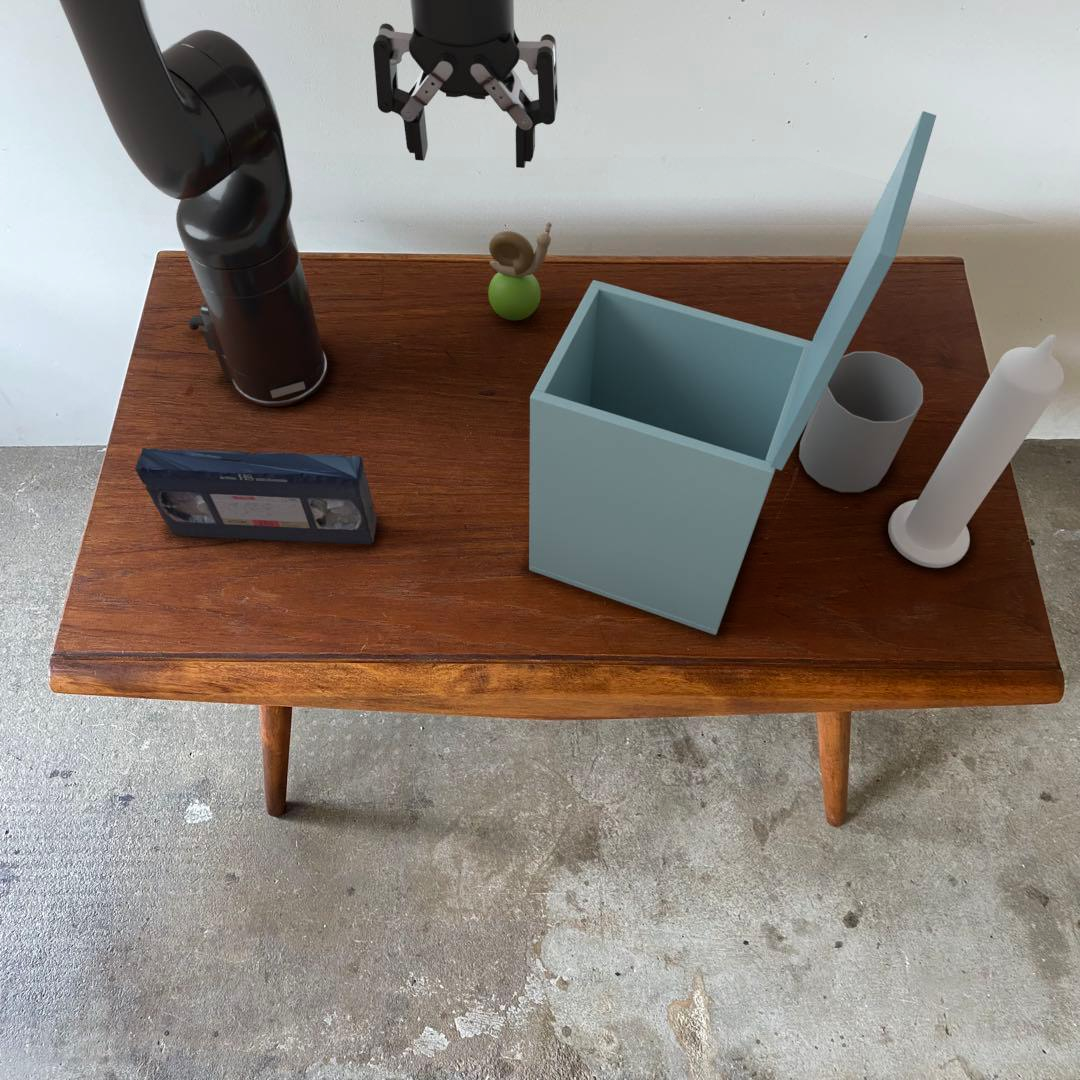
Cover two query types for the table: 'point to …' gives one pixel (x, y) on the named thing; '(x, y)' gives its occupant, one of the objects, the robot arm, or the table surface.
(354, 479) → the vhs cassette tape
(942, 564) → the candle
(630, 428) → the chest
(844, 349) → the lid
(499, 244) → the snail figurine
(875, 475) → the cup
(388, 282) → the table surface
